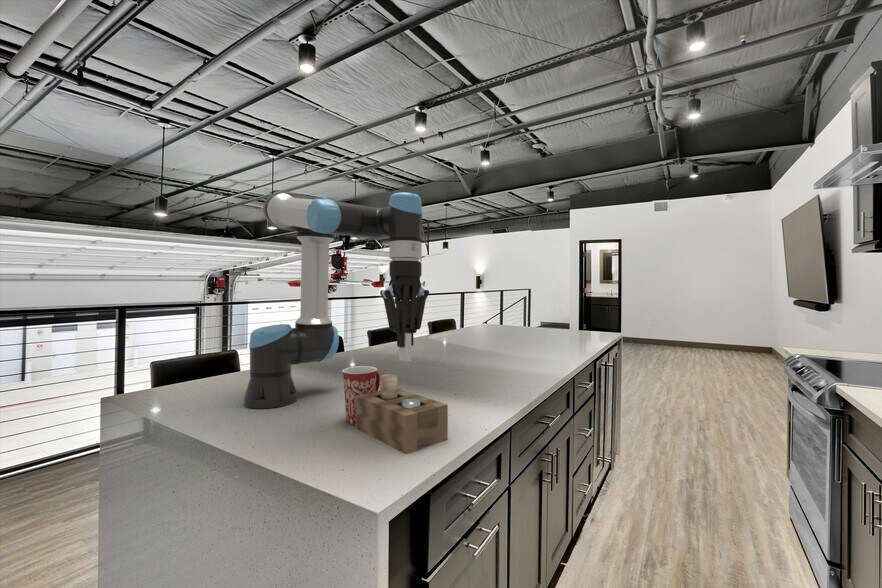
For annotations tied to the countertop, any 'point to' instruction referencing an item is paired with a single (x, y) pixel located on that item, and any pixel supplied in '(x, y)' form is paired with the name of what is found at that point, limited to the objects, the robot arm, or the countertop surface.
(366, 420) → the socket block
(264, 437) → the countertop surface
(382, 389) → the beech peg
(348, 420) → the mug
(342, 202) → the robot arm
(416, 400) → the steel peg
